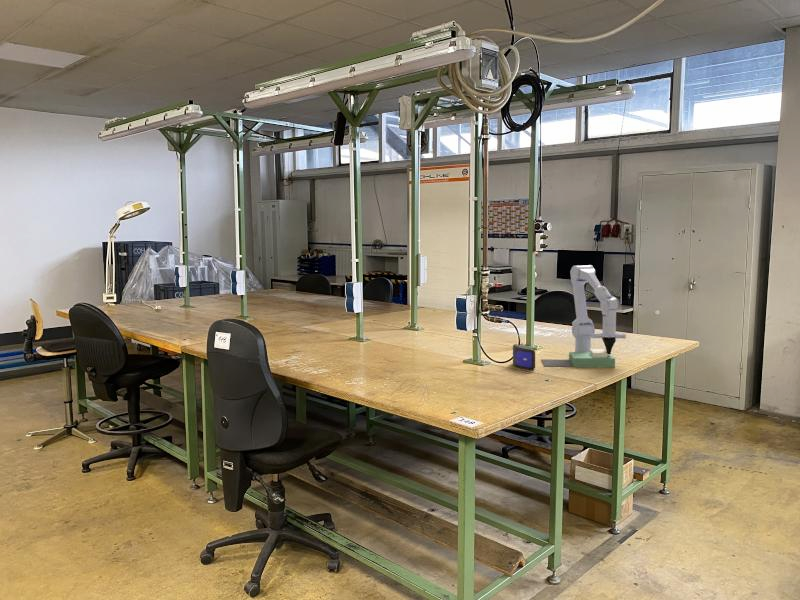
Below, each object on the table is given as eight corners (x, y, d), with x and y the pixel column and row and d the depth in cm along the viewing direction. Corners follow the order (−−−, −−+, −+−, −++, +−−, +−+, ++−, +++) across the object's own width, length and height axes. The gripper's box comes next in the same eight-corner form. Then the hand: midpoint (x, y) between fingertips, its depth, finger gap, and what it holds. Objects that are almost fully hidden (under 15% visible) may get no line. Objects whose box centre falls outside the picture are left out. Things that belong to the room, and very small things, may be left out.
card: (589, 353, 285) (589, 349, 285) (603, 353, 284) (603, 349, 284) (593, 357, 276) (593, 352, 276) (607, 357, 276) (607, 353, 275)
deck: (569, 360, 289) (569, 351, 289) (608, 360, 287) (608, 352, 286) (573, 366, 276) (573, 358, 275) (614, 367, 273) (615, 358, 273)
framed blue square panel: (507, 364, 284) (507, 344, 283) (515, 363, 286) (516, 343, 284) (527, 371, 269) (527, 350, 268) (536, 370, 271) (536, 349, 270)
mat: (541, 359, 291) (541, 359, 291) (569, 360, 289) (569, 359, 289) (543, 366, 277) (543, 365, 277) (573, 366, 276) (573, 366, 276)
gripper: (594, 325, 275) (593, 355, 277) (627, 325, 273) (627, 355, 275) (591, 323, 282) (591, 352, 284) (624, 323, 280) (623, 352, 282)
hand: (608, 353), depth 280 cm, fingers closed
